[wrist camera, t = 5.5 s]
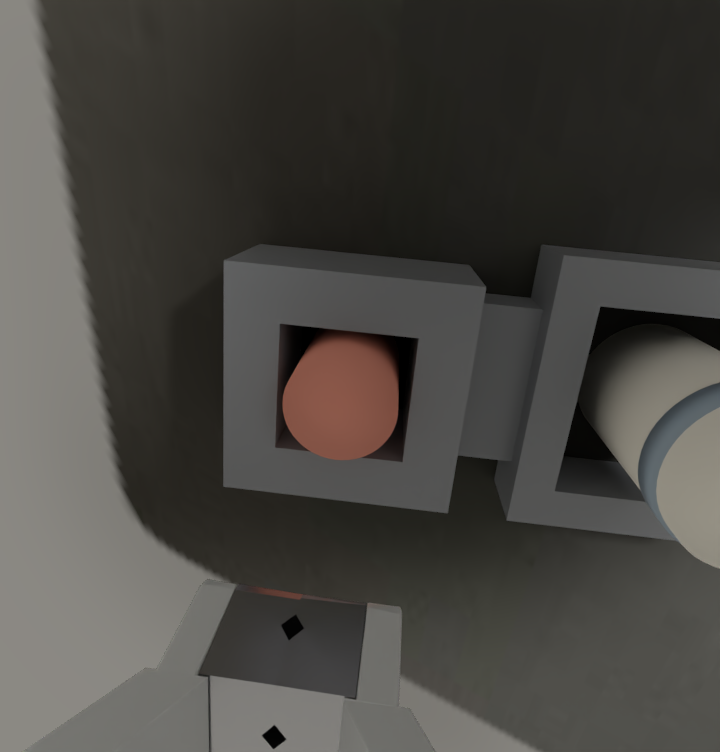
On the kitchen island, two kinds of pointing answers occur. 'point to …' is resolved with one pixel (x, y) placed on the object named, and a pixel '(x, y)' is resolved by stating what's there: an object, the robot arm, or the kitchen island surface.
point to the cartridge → (662, 425)
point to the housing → (445, 375)
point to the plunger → (344, 394)
